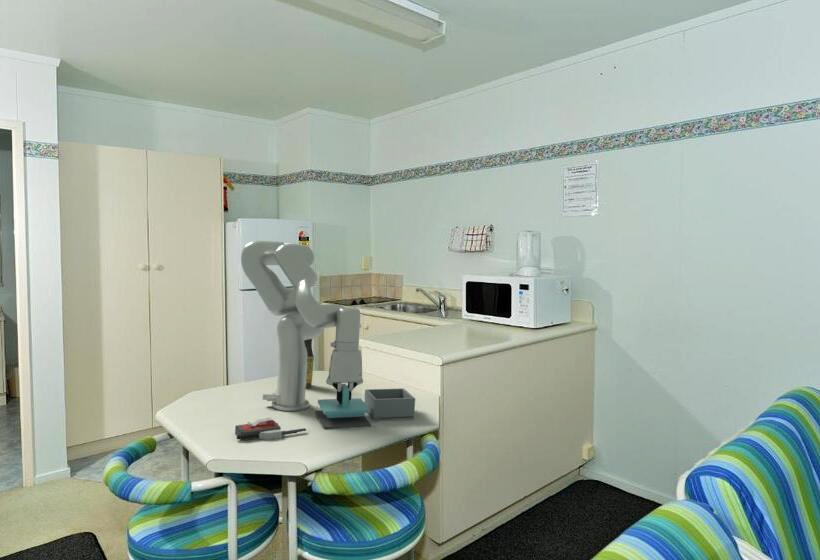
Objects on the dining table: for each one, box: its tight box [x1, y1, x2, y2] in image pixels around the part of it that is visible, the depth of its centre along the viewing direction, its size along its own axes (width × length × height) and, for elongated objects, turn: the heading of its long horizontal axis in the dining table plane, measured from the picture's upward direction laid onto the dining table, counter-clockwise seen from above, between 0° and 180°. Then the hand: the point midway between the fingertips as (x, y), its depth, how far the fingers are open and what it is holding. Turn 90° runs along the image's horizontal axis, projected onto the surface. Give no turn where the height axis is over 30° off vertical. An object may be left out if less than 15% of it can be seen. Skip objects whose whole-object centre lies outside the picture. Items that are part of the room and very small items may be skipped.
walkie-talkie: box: [234, 417, 307, 442], centre depth 157 cm, size 9×4×20 cm
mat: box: [314, 409, 372, 430], centre depth 173 cm, size 15×16×1 cm
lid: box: [317, 383, 370, 418], centre depth 173 cm, size 14×12×8 cm
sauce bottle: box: [304, 339, 315, 388], centre depth 208 cm, size 6×6×20 cm
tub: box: [363, 387, 416, 422], centre depth 182 cm, size 14×12×7 cm
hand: (343, 402), depth 173 cm, fingers closed on lid
